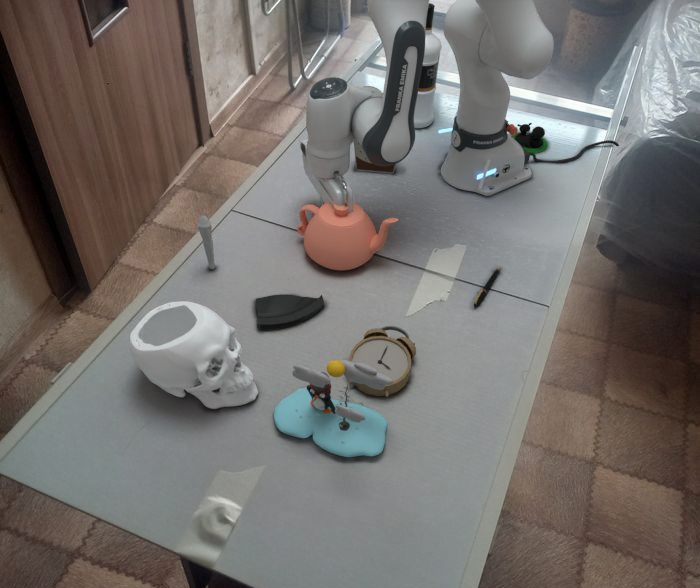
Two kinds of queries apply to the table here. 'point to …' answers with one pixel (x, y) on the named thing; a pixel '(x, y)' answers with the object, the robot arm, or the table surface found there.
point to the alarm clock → (385, 358)
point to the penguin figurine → (334, 411)
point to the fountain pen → (486, 288)
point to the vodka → (428, 76)
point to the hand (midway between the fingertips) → (327, 213)
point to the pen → (207, 239)
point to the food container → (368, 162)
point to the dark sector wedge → (286, 310)
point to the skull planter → (192, 354)
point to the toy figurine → (531, 138)
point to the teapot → (341, 235)
